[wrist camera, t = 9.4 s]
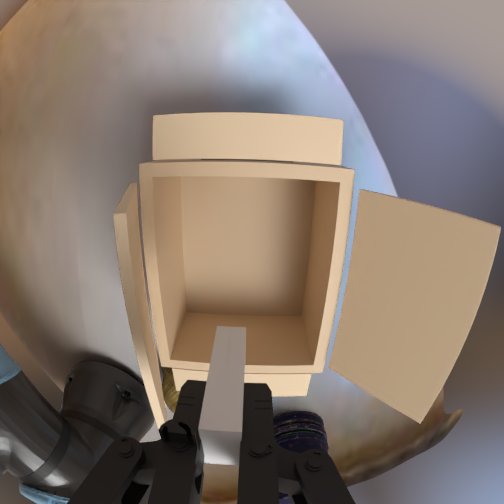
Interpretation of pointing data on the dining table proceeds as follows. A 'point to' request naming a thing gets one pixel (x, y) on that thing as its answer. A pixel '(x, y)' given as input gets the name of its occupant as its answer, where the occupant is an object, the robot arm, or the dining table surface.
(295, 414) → the dark blue barrel
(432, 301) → the flap
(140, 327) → the flap
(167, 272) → the carton
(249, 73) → the dining table surface
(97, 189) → the dining table surface
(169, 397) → the seashell
